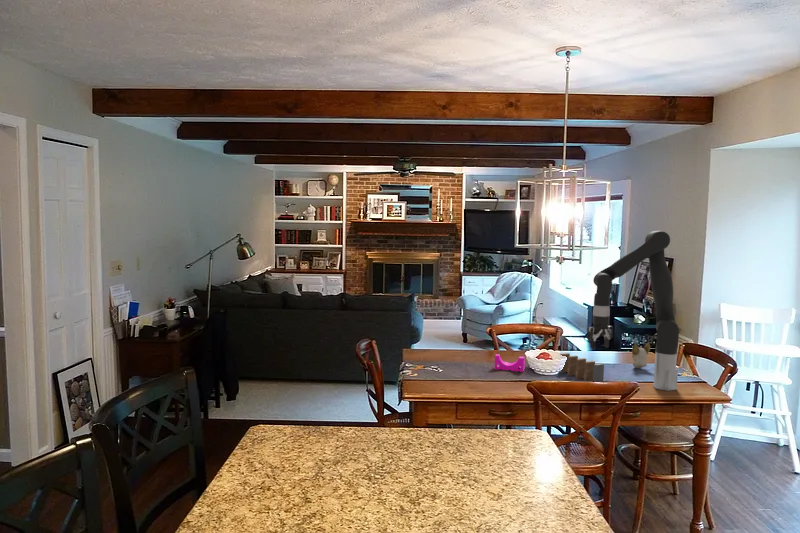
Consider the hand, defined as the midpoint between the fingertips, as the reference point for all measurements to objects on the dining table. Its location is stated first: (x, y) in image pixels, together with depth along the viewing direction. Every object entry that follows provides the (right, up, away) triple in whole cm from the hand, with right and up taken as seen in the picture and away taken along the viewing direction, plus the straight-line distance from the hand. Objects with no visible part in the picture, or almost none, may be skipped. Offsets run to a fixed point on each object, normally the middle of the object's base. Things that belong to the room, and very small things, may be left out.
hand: (599, 348), depth 273 cm
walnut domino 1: (-10, -16, +23) cm, 30 cm away
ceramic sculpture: (+33, -16, +34) cm, 50 cm away
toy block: (-38, -16, +27) cm, 50 cm away
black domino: (0, -18, +1) cm, 18 cm away
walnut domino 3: (-5, -17, +12) cm, 22 cm away
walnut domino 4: (-3, -18, +7) cm, 19 cm away
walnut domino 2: (-8, -17, +18) cm, 25 cm away
